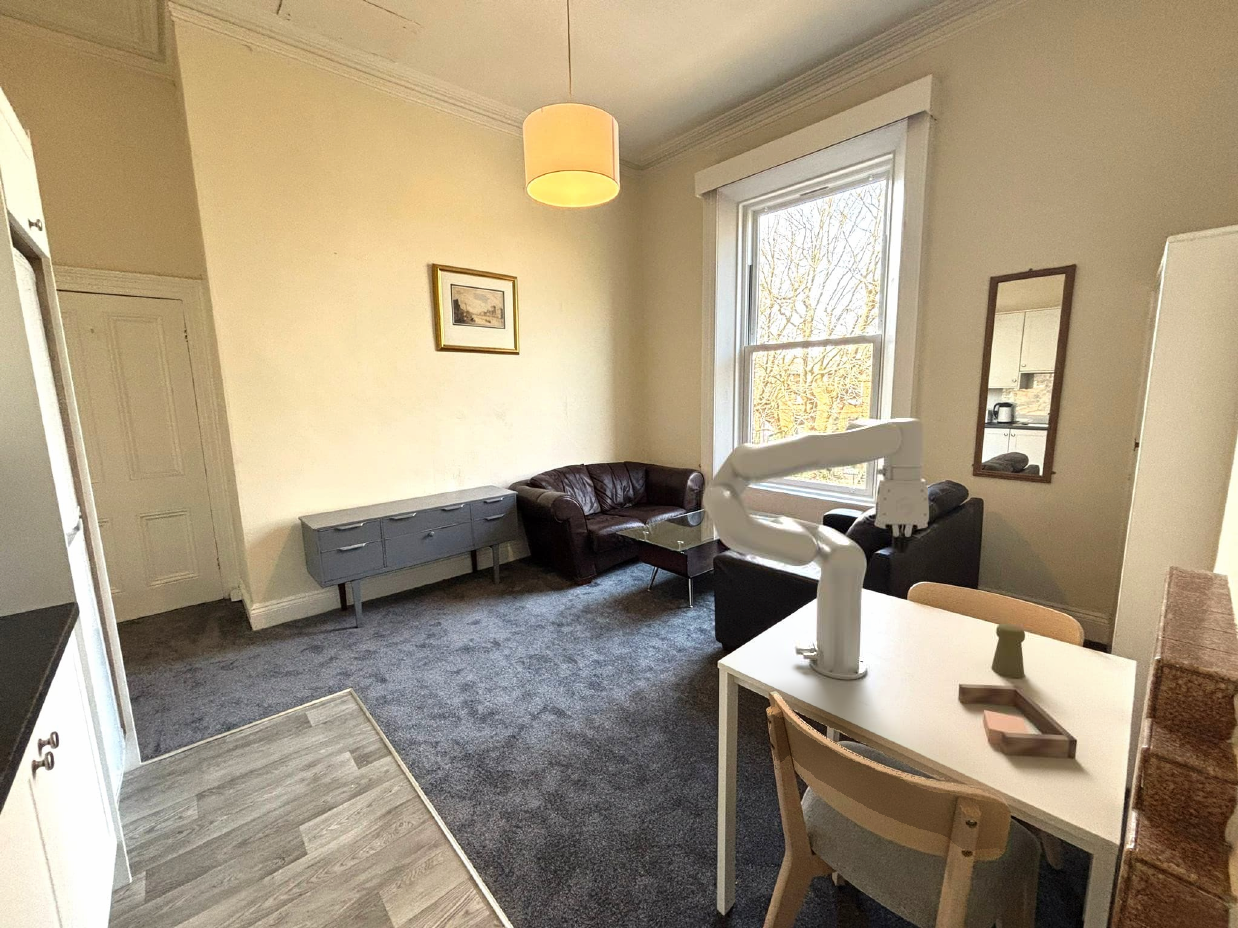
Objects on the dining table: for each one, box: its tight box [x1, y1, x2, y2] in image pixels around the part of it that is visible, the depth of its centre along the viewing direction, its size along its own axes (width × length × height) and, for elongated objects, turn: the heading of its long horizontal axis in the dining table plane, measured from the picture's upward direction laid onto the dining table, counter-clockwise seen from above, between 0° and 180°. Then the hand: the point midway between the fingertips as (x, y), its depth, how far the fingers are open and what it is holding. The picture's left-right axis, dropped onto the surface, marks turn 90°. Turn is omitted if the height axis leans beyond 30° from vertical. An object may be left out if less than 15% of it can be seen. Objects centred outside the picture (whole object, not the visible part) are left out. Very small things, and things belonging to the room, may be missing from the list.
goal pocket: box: [957, 683, 1078, 759], centre depth 98 cm, size 11×16×4 cm
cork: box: [991, 622, 1026, 680], centre depth 116 cm, size 6×6×11 cm
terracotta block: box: [982, 709, 1029, 746], centre depth 96 cm, size 6×6×3 cm
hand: (899, 551), depth 118 cm, fingers closed
